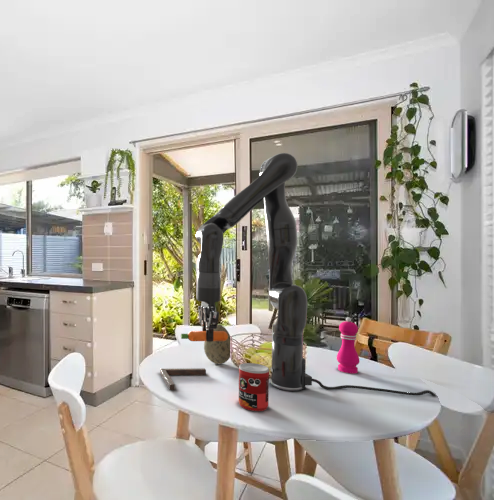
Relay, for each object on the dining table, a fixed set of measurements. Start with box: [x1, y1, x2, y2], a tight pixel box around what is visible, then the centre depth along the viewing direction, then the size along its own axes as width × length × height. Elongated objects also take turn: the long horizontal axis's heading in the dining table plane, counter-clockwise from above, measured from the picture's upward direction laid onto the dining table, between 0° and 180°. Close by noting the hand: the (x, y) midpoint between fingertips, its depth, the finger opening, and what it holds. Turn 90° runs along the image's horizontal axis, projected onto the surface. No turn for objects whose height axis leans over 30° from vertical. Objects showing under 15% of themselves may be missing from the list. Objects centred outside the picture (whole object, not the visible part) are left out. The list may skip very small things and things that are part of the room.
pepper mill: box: [336, 316, 360, 375], centre depth 139 cm, size 7×7×20 cm
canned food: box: [238, 362, 270, 412], centre depth 105 cm, size 8×8×11 cm
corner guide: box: [159, 367, 207, 391], centre depth 124 cm, size 16×16×2 cm
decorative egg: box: [203, 324, 231, 365], centre depth 145 cm, size 11×11×15 cm
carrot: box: [180, 330, 228, 342], centre depth 119 cm, size 15×3×3 cm, turn 95°
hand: (207, 339), depth 120 cm, fingers closed on carrot, 3 cm apart
